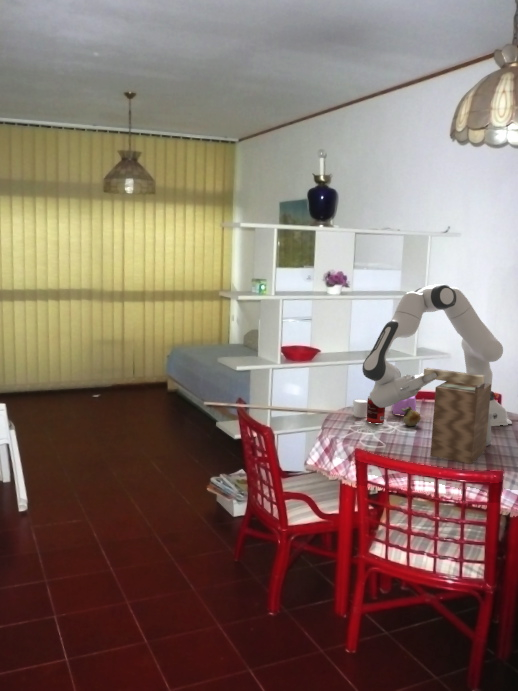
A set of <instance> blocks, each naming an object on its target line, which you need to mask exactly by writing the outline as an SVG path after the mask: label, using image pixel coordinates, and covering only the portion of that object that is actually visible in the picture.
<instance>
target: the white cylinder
mask: <svg viewBox="0 0 518 691" xmlns="http://www.w3.org/2000/svg"><path fill="white" fill-rule="evenodd" d="M367 402H368V399H362V398H357V399H352V404H353V406H352V409H353V410H352V411H353V416H354V417H356V418H366V417H367ZM365 416H366V417H365Z"/></svg>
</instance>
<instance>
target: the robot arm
mask: <svg viewBox="0 0 518 691" xmlns="http://www.w3.org/2000/svg"><path fill="white" fill-rule="evenodd" d="M441 310H442V311H443V312H444V313H445V315H446V318H448V320H449V322H450V323H451V325H452V327H453V328H454V330H455V331H456V333H457V334H458V335H460V338H462V339H461V342H460V344H461V347H462V350H463V355H464V363H465V373H470V374H478V375H485V376H484V383H489V384H491V388H492V385H493V384H492V383H493V372H492V369H491V365H490V363H493V362H497V361H498V360H500V359H501V358H502V356H503V354H504V347H503V344H502V343H501V342H500V341H499V340H498V339H497V338H496V337H495V336H494V334H493V332H492V331H491V330H490V329H489V328H488V327H487V326H486V324H485V323H484V322H483V321H482V319H481V318H480V317H479V315H478V314H477V312H476V310H475V309H474V307H473V305H472V304H471V303H470V301H469V299H468V298H467V297H466V295H465V294H464V293H463V291H461V290H460V289H459V288H458V287H455V286H453V287H451V286H449V285H448V284H443V283H442V284H441V283H439V284H433V285H427V286H425V287H420V288H418V289H416V290H415V291H408V292H406V293H404V294H403V296H402V297H401V299H400V301H399V303H398V305H397V306H396V309H395V311H394V314H393V316H392V318H391V320H390V321H387V323H385V325H384V327H383V328H382V330H381V331H380V334H379V336H378V338H377V339H376V341H375V344H374V345H373V348H372V349H371V351H370V353H369V354H368V355H367V356H366V358H365V360H364V361H363V363H362V369H361V370H362V373H363V376H364V377H366V378H367V379H369V380H371V381H373V382H375V383H374V386H373V389H372V390H371V391H370V392H369V396H370V398H371V400H372V402H373V403H374V404H375V405H376V406H378V407H380V408H383V407H385V408H387V407H390V406H391V407H392V406H393V404H396V403H398V402H399V401H401V400H406V399H408V398H410V397H413V396H415V397H416V396H417V394H418V393H419V391H421V389H422V388H423V387H425V386H427V385H428V384H430V383H432V382H434V381H436V380H435V379H433V378H436V377H437V376H438V375H437V373H433V374H430V375H428V376H425V375H424V372H423V373H420V374H412V375H411V374H405V375H402V373H401V371H400V369H399V368H398V367H397V366H395V365H393V363H391V362H389V361H388V360H387V354H388V353H389V350H390V348H391V347H392V344H393V342H394V341H395V340H396V339H398V338H401V339H403V338H405V339H406V338H410V337H412V336H414V335H415V334H416V332H417V331H418V329H419V326H420V324H421V320H422V317H423V314H424V313H434V312H438V311H441ZM424 376H425V377H424ZM495 398H496V399H499V398H500V394H499V393H498V392H494V391H492V390H491V394H490V405H489V412H490V413H491V414H492V419H490V423H491V427H500V425H503V426H509V425H508V424H512V425H513V423H512V420H510V419H509V418H508V416H507V415H508V414H507V411H506V408H505V407H504V406H503V405H501V404H500V403H499V402H498V401H497V400H496V399H495Z"/></svg>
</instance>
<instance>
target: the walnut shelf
mask: <svg viewBox="0 0 518 691" xmlns="http://www.w3.org/2000/svg"><path fill="white" fill-rule="evenodd" d="M491 391H492V387H491V384H489V383H481V384H480V385H478V386H477V385H470V384H463V383H456V382H449V381H443V383H440V384H439V385H437V386H436V387H435V392H434V403H433V404H434V405H433V414H432V415H433V417H432V418H433V419H432V430H431V443H430V457H434V458H440V459H445V460H450V461H455V462H460V463H463V464H464V463H465V464H469V465H473V463H474V462H475V461H476V460H477V459H479V457H480V456H481V455H482V454H483V453H484V452H486V448H487V446H486V438H487V427H488V416H489V405H490V394H491Z"/></svg>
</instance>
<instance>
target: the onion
mask: <svg viewBox="0 0 518 691" xmlns="http://www.w3.org/2000/svg"><path fill="white" fill-rule="evenodd" d="M401 410H402V411H403V412H406V413H405V414H404V416H402V420H403V423H404V424H405V426H408V427H414V426H417V425H418V423H420V421H421V419H422V417H421V414H420V413H419V412H417V410H416V411H414V410H412V409H411V407H407V408H406V409H403V408H402V409H401Z"/></svg>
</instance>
